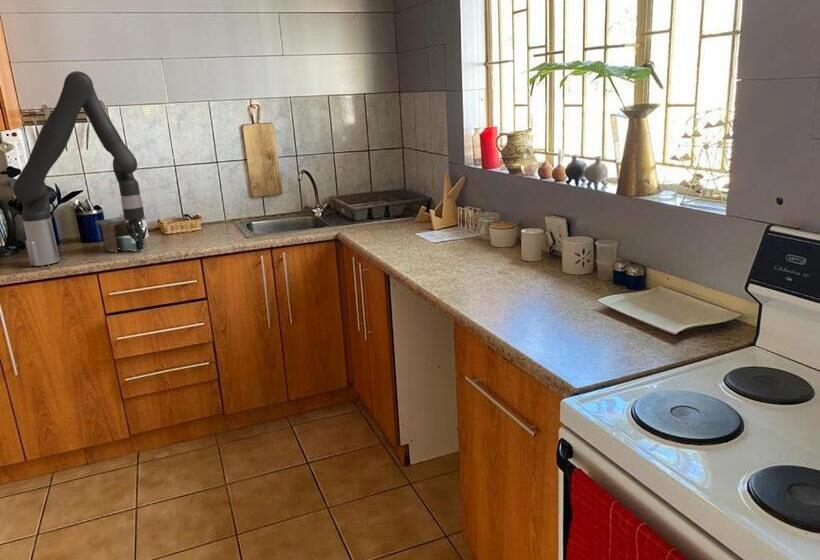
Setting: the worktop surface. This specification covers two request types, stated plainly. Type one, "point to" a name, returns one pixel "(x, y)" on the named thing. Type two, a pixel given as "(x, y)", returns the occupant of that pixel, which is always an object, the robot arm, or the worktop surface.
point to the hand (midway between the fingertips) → (140, 249)
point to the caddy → (126, 242)
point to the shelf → (114, 231)
